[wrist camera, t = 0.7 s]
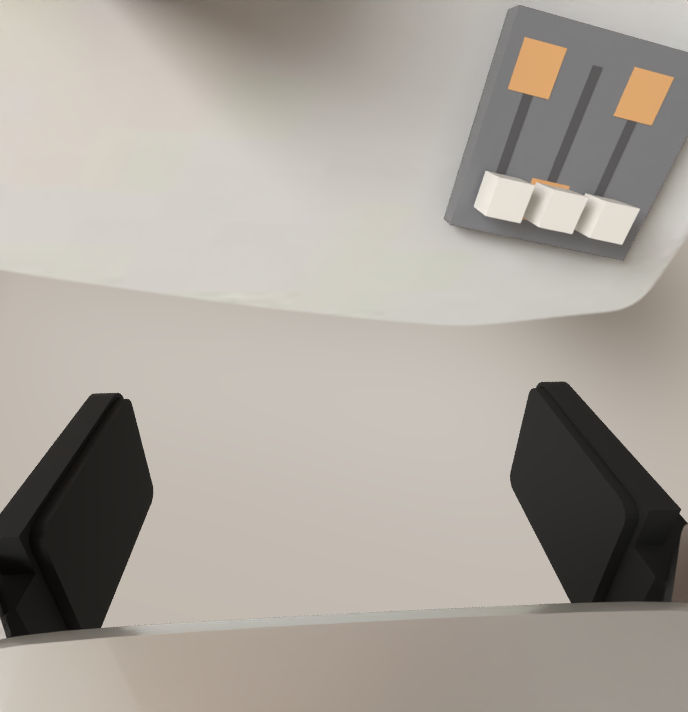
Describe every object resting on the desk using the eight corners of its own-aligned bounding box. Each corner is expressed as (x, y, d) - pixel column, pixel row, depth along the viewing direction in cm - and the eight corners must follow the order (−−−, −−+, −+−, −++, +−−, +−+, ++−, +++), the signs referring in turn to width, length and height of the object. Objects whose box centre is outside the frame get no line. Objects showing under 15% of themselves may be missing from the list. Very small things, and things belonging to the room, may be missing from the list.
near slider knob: (485, 170, 34) (499, 177, 31) (518, 178, 34) (535, 185, 32) (473, 206, 35) (485, 216, 32) (505, 213, 35) (520, 223, 33)
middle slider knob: (536, 182, 34) (553, 189, 32) (568, 189, 35) (588, 197, 32) (522, 217, 36) (538, 227, 33) (553, 223, 36) (572, 234, 33)
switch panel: (508, 9, 31) (519, 4, 29) (703, 64, 33) (725, 62, 31) (444, 218, 38) (450, 224, 36) (610, 253, 40) (624, 260, 38)
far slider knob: (585, 193, 35) (606, 201, 32) (616, 200, 35) (640, 208, 33) (570, 227, 36) (589, 238, 34) (600, 233, 37) (622, 244, 34)
